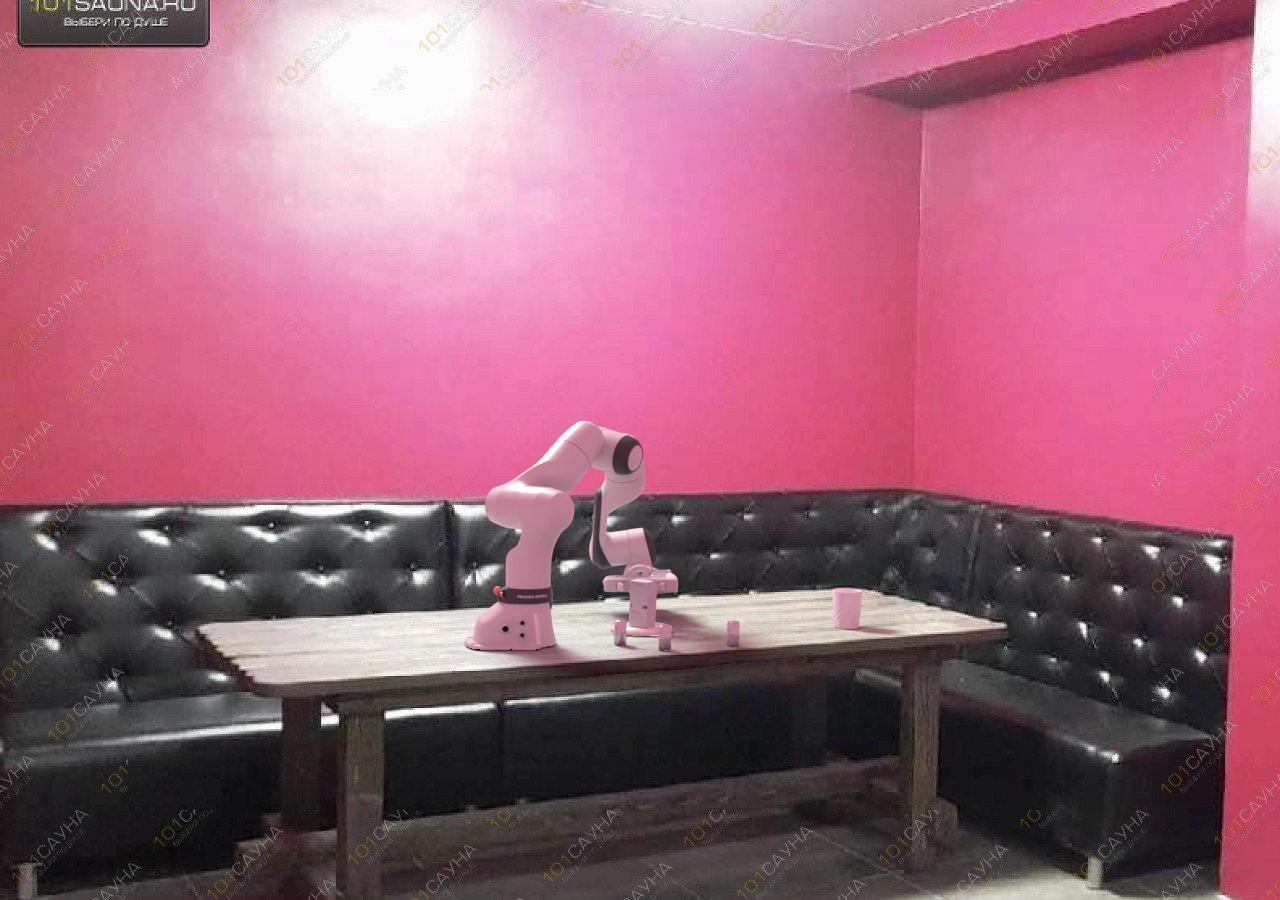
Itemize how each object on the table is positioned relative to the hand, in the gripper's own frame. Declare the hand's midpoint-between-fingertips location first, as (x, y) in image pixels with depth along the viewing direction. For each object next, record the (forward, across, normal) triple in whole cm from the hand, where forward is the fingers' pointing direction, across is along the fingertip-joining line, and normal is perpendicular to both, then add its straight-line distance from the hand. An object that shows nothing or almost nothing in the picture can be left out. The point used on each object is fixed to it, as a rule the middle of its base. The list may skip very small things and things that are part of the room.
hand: (641, 588), depth 366 cm
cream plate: (+9, 0, +10) cm, 13 cm away
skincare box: (+8, 0, +9) cm, 12 cm away
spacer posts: (+29, +8, +10) cm, 31 cm away
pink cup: (0, +55, +10) cm, 56 cm away
